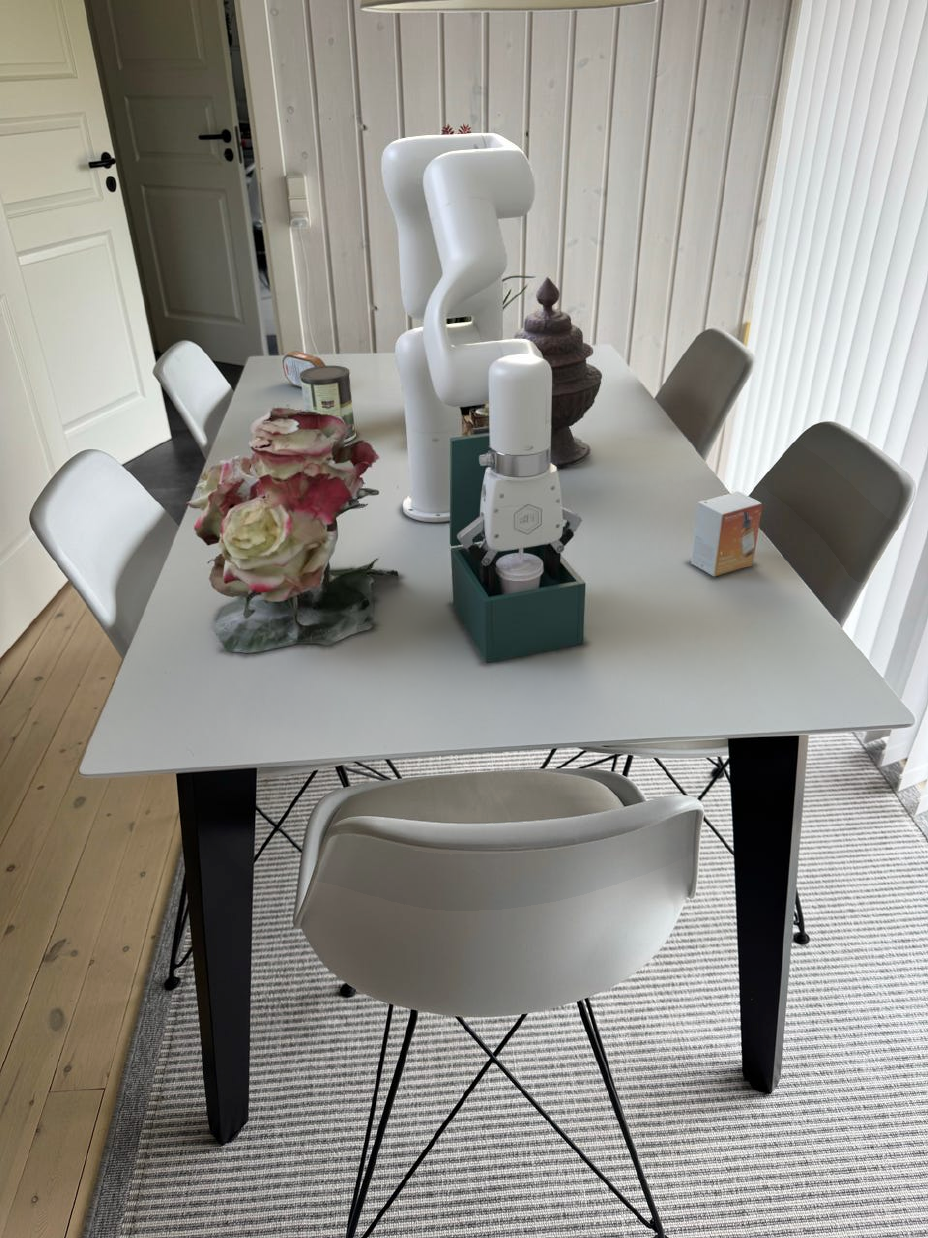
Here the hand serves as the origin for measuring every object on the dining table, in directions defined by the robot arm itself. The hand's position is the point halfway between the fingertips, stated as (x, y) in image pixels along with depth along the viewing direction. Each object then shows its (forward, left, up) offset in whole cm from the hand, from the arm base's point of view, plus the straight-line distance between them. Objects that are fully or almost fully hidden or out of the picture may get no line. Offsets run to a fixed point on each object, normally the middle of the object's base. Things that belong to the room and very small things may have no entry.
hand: (520, 580), depth 121 cm
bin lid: (-2, -8, +10) cm, 13 cm away
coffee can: (-11, -87, -8) cm, 88 cm away
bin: (0, -2, -8) cm, 8 cm away
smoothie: (0, 0, -7) cm, 7 cm away
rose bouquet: (+23, -23, -8) cm, 34 cm away
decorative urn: (-41, -50, -8) cm, 65 cm away
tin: (-21, -123, -8) cm, 125 cm away
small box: (-36, +2, -8) cm, 38 cm away
